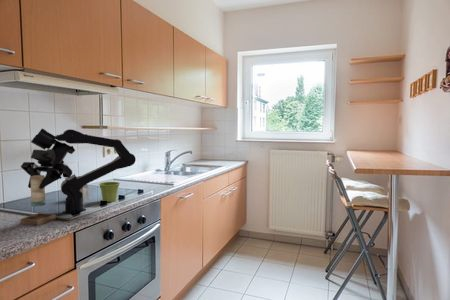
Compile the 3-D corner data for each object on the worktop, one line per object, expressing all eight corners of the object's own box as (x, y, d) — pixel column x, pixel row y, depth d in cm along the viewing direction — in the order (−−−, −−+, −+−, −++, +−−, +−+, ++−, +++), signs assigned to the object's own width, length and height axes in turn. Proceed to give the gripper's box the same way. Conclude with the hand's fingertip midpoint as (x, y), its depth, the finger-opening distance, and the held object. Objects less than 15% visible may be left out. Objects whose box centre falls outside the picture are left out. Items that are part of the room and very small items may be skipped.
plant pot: (110, 197, 149) (110, 181, 148) (124, 200, 145) (123, 182, 144) (94, 201, 141) (94, 183, 140) (108, 204, 136) (108, 185, 136)
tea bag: (77, 198, 147) (76, 178, 146) (88, 199, 145) (88, 179, 144) (71, 200, 143) (71, 179, 143) (83, 201, 142) (82, 180, 141)
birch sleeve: (38, 203, 112) (37, 174, 112) (48, 204, 111) (47, 175, 111) (28, 206, 108) (27, 176, 107) (38, 207, 107) (37, 177, 106)
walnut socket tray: (38, 217, 115) (38, 212, 115) (56, 219, 113) (55, 214, 113) (20, 223, 107) (20, 218, 107) (38, 225, 105) (38, 220, 105)
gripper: (24, 141, 114) (-2, 173, 104) (66, 142, 110) (43, 176, 100) (41, 159, 122) (18, 191, 112) (80, 161, 118) (61, 193, 108)
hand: (34, 187), depth 108 cm, fingers closed on birch sleeve, 4 cm apart
